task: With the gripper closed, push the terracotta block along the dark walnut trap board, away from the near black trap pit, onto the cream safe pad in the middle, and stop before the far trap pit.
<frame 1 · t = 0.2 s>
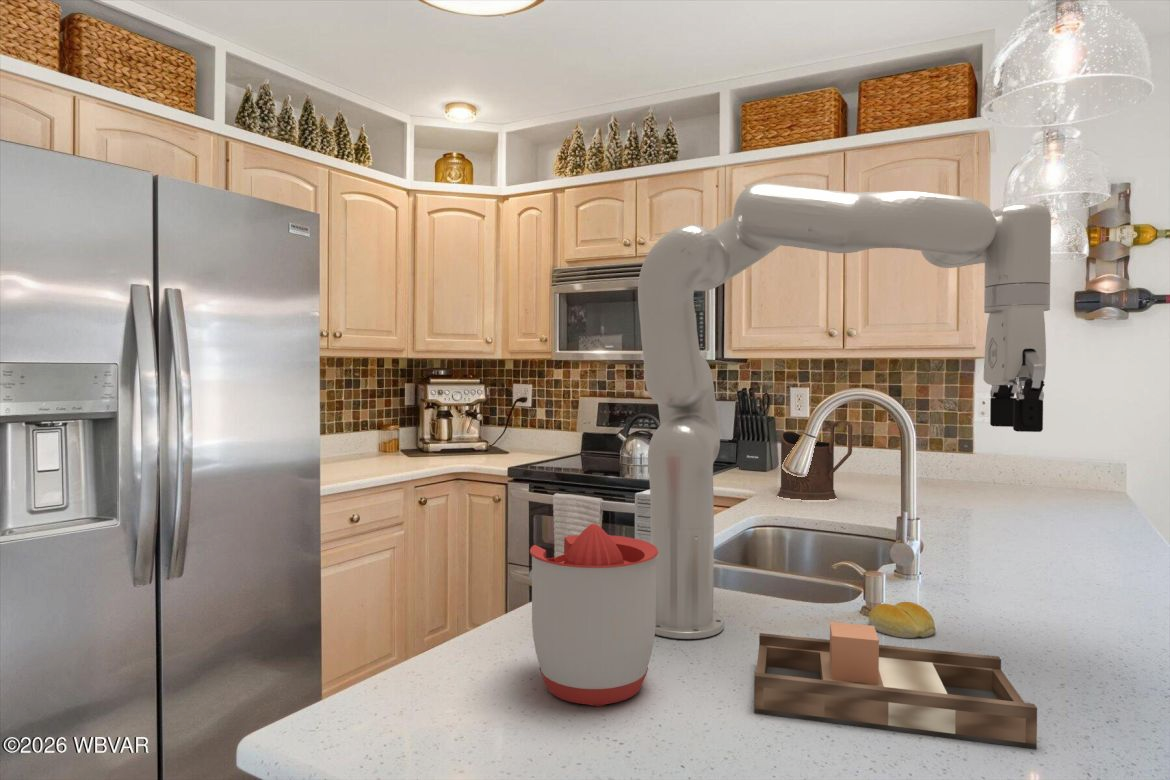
hand: (1014, 428, 96), 31 cm above the table, fingers open, 9 cm apart
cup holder: (814, 499, 222), on the table
citrus juicer: (588, 686, 88), on the table
supplement box: (666, 583, 132), on the table
trap board: (880, 701, 83), on the table
bread roll: (901, 631, 108), on the table
block: (853, 673, 84), point 3 cm above the table, touching trap board
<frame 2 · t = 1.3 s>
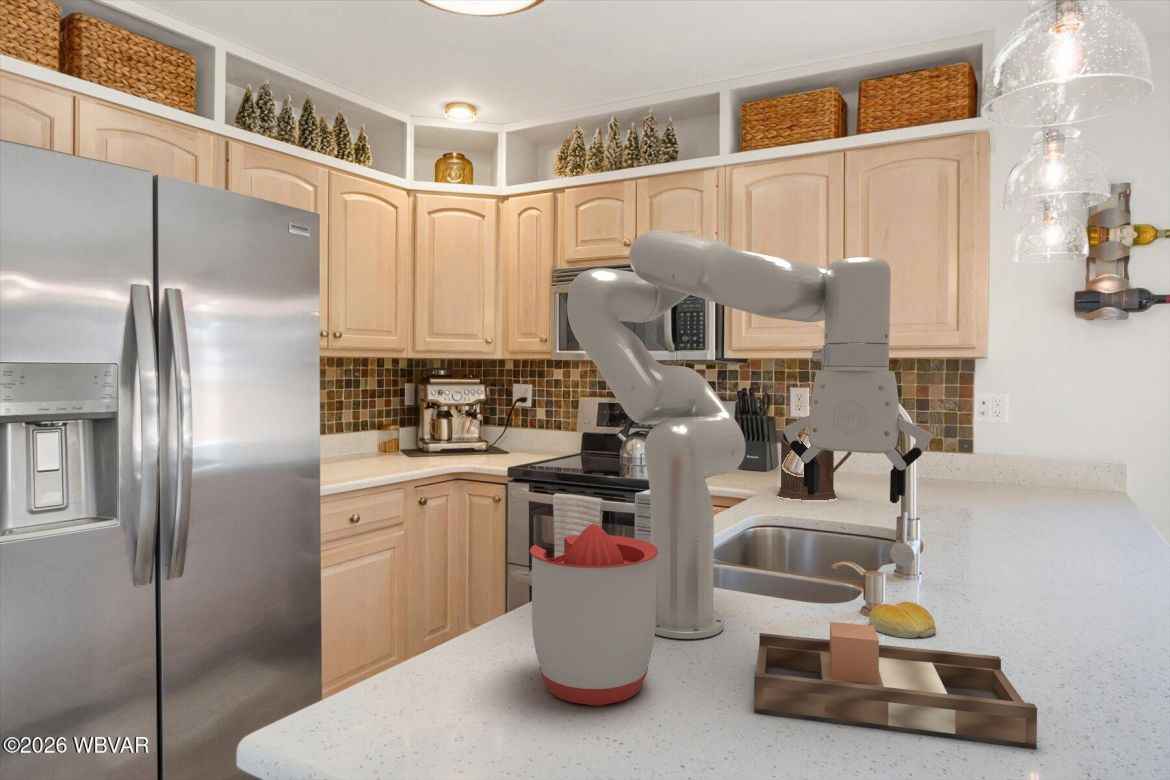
hand: (852, 497, 89), 23 cm above the table, fingers open, 9 cm apart
nothing on the table moved.
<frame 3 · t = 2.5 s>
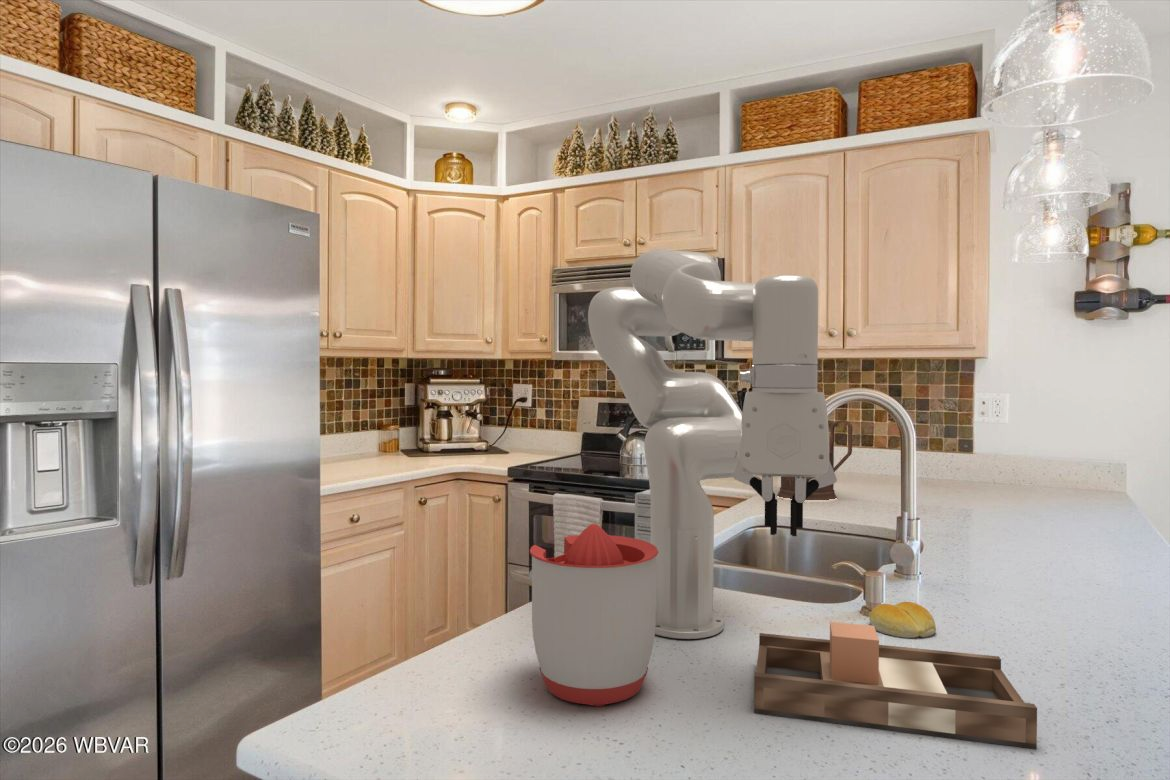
hand: (783, 532, 86), 19 cm above the table, fingers closed
nothing on the table moved.
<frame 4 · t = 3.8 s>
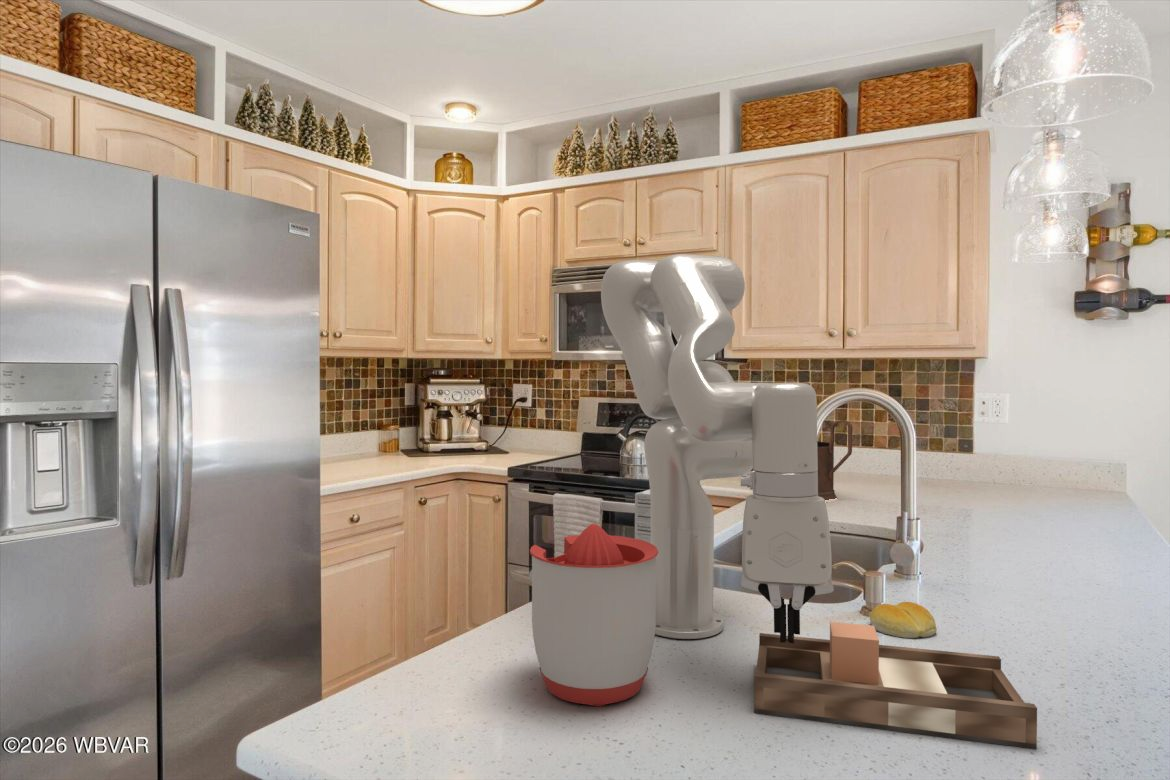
hand: (787, 639, 85), 6 cm above the table, fingers closed
nothing on the table moved.
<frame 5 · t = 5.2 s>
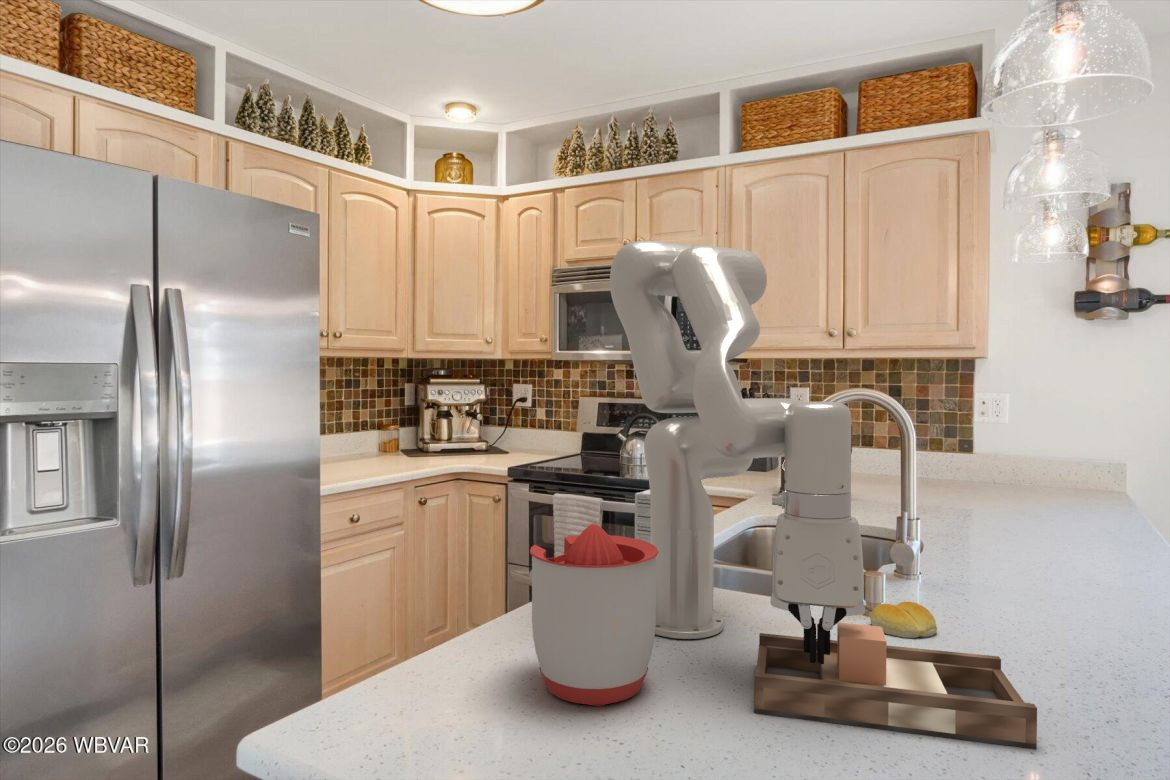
hand: (816, 659, 85), 4 cm above the table, fingers closed
block: (860, 674, 84), point 3 cm above the table, touching gripper, trap board
everything else where it was.
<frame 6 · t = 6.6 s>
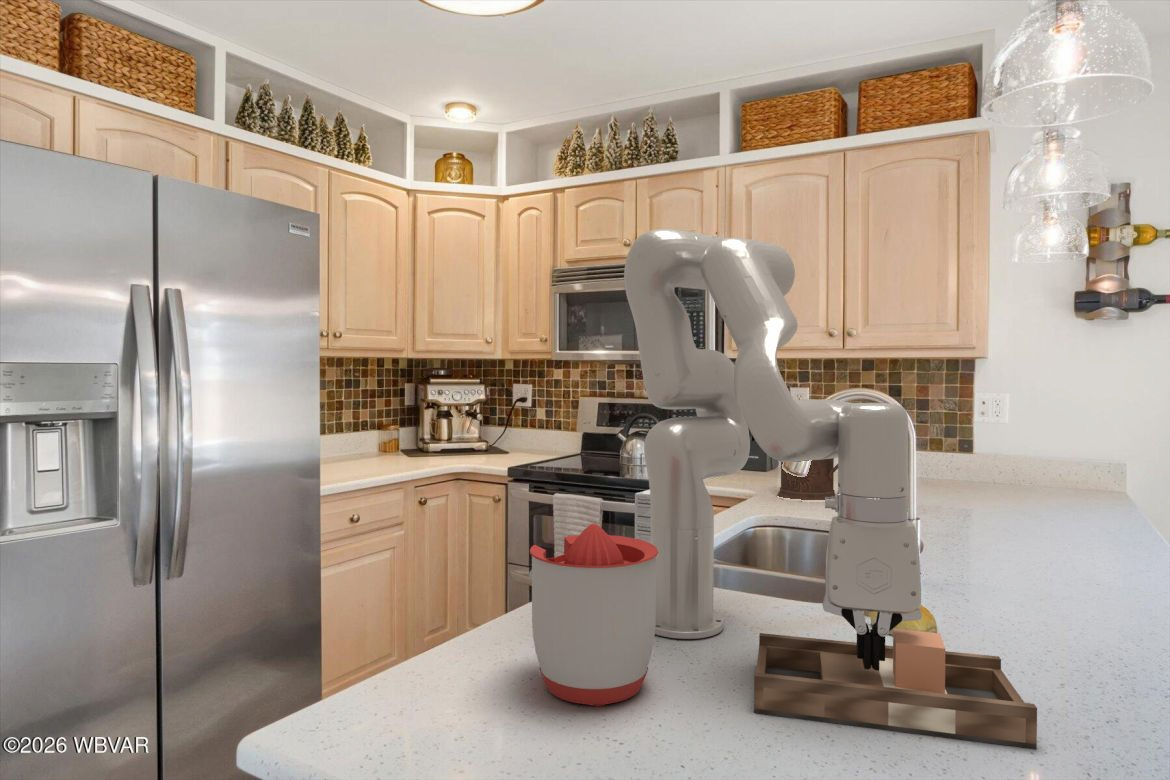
hand: (870, 665, 83), 4 cm above the table, fingers closed
block: (917, 681, 82), point 3 cm above the table, touching gripper, trap board
everything else where it was.
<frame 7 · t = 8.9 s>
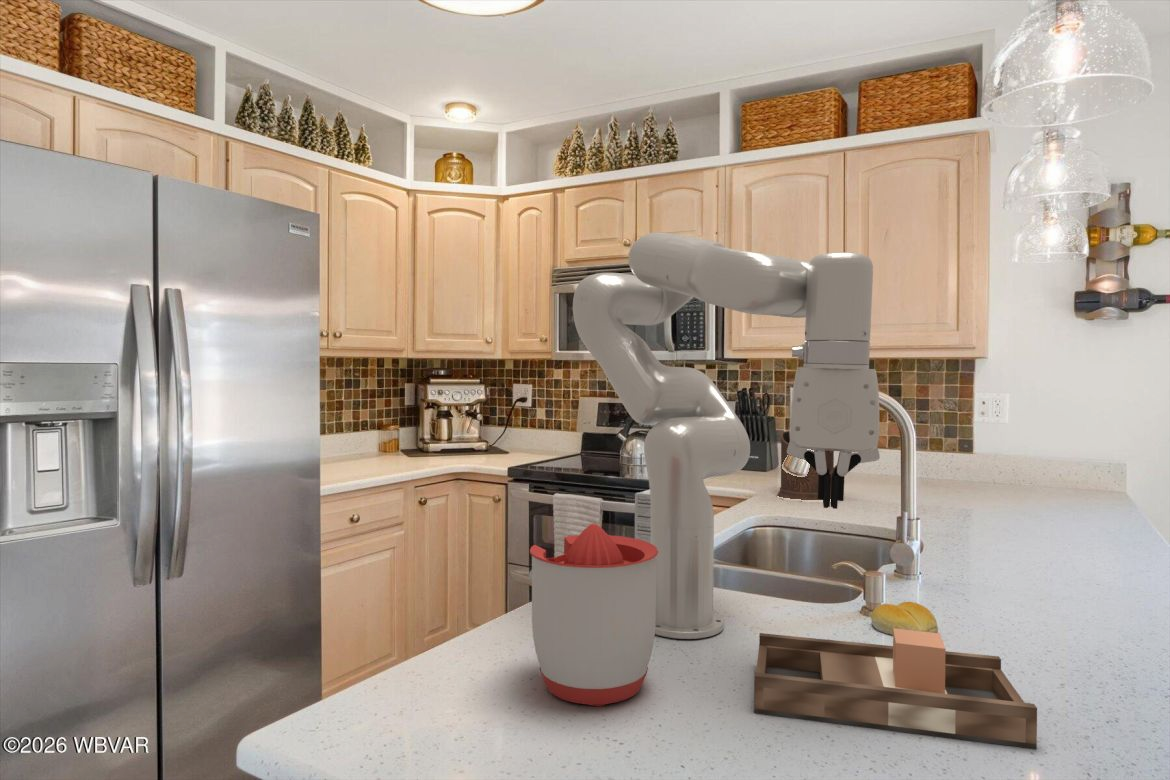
hand: (830, 505, 88), 22 cm above the table, fingers closed
block: (917, 681, 82), point 3 cm above the table, touching trap board
everything else where it was.
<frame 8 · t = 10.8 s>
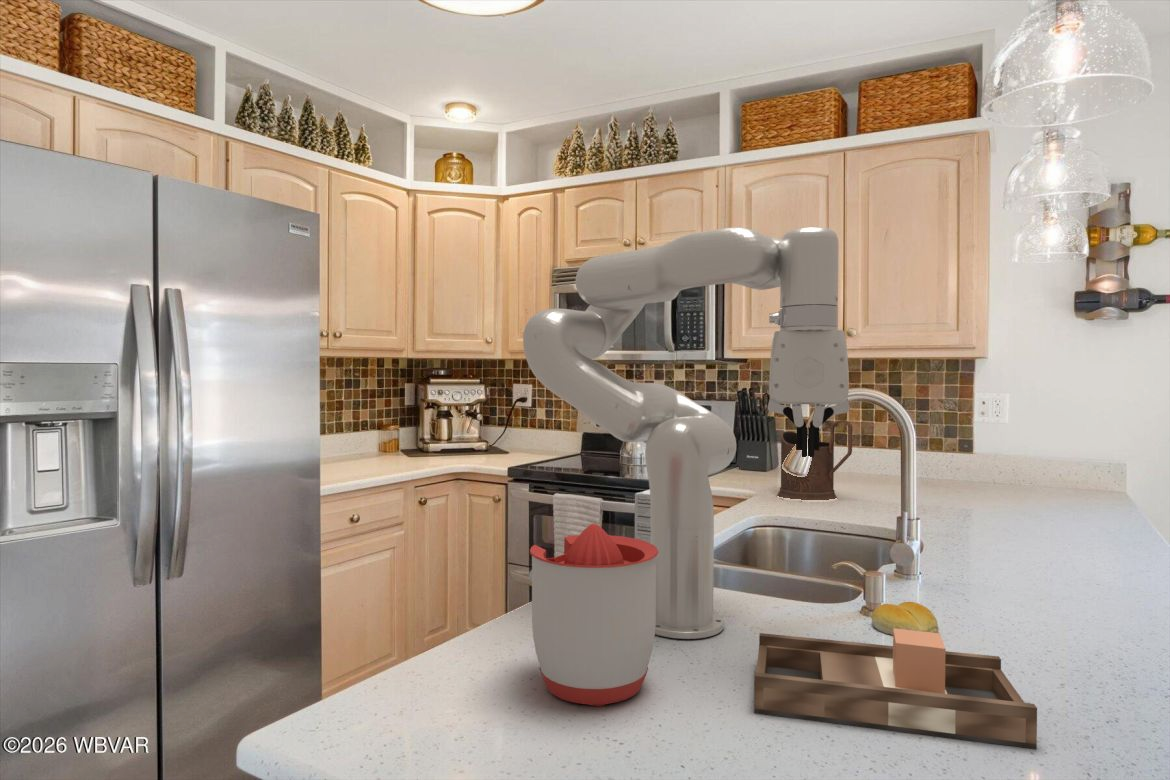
hand: (807, 455, 98), 27 cm above the table, fingers closed
nothing on the table moved.
at the end: block 0.7 cm from the target spot on the trap board, point 3.0 cm above the trap board's base; block tilted 0° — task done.
